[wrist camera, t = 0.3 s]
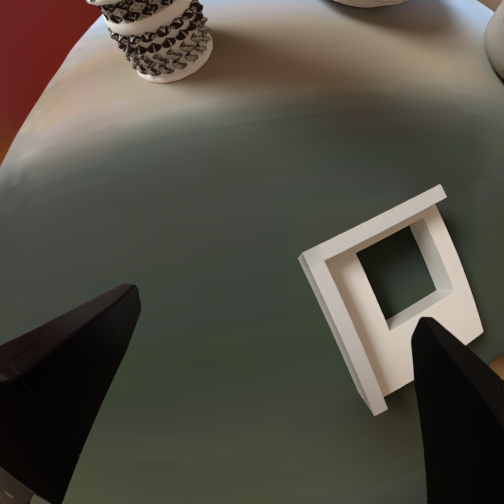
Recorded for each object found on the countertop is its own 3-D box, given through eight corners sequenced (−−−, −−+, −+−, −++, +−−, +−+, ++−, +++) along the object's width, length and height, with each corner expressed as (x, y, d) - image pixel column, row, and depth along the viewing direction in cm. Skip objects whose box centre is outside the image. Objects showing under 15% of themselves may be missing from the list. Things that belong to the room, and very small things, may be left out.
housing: (465, 327, 22) (497, 335, 17) (358, 392, 23) (374, 416, 18) (413, 200, 23) (440, 184, 18) (297, 258, 24) (302, 252, 19)
